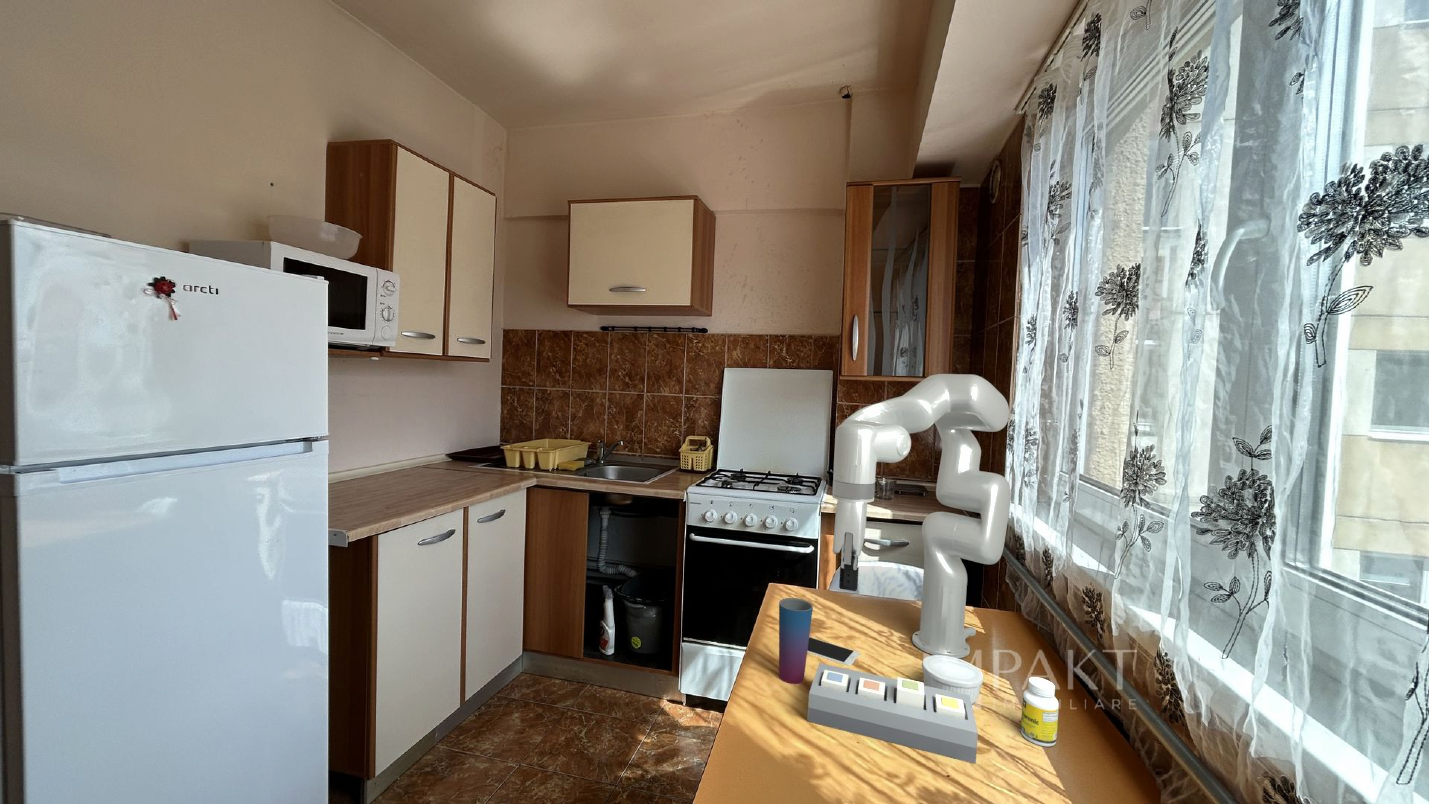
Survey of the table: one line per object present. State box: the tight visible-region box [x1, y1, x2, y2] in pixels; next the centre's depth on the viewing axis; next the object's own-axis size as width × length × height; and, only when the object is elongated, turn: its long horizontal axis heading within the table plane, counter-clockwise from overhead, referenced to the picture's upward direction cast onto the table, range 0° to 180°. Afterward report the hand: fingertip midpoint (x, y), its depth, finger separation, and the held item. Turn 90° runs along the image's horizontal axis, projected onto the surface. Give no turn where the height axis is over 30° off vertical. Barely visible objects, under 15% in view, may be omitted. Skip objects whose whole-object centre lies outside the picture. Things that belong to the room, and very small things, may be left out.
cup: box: [778, 597, 814, 685], centre depth 112 cm, size 7×7×15 cm
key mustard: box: [935, 694, 965, 719], centre depth 95 cm, size 4×4×3 cm
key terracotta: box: [858, 678, 885, 701], centre depth 99 cm, size 4×4×3 cm
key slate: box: [821, 670, 849, 692], centre depth 102 cm, size 4×4×3 cm
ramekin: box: [921, 654, 984, 705], centre depth 109 cm, size 11×11×5 cm
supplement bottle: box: [1020, 676, 1060, 748], centre depth 96 cm, size 5×5×10 cm
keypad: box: [807, 662, 979, 765], centre depth 98 cm, size 27×12×5 cm, turn 71°
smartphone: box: [807, 636, 861, 667], centre depth 125 cm, size 8×1×15 cm
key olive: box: [896, 676, 925, 710], centre depth 97 cm, size 4×4×3 cm
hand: (848, 588), depth 103 cm, fingers closed
